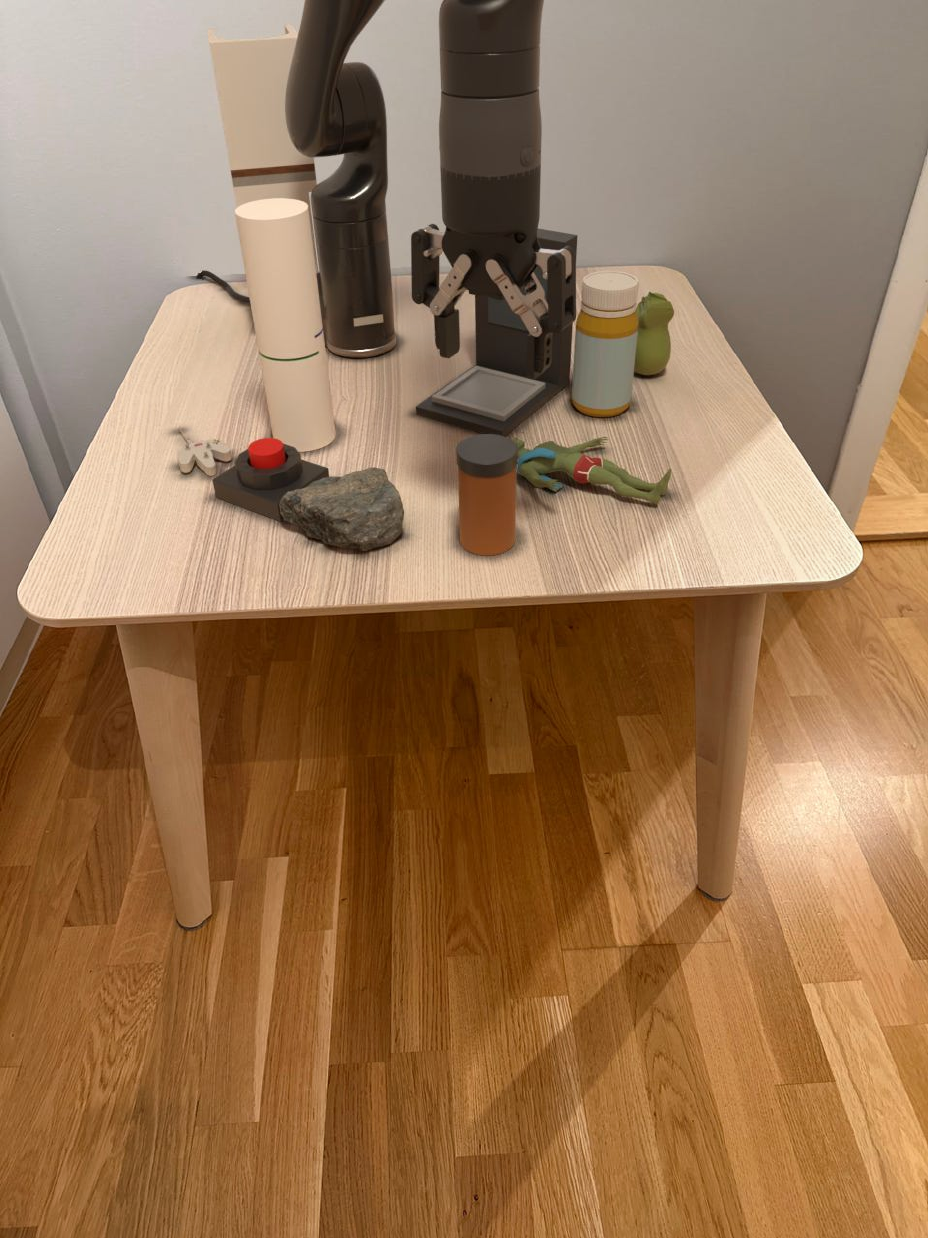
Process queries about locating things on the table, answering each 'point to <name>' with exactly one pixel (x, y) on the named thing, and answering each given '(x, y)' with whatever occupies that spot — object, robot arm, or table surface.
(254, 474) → the control block
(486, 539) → the orange canister with lid
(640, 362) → the pear
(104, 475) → the table surface
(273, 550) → the table surface
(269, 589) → the table surface
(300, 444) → the cylindrical container
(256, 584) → the table surface
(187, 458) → the game controller
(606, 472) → the figurine
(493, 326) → the coffee maker
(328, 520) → the rock
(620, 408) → the bottle
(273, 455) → the button
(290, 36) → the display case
